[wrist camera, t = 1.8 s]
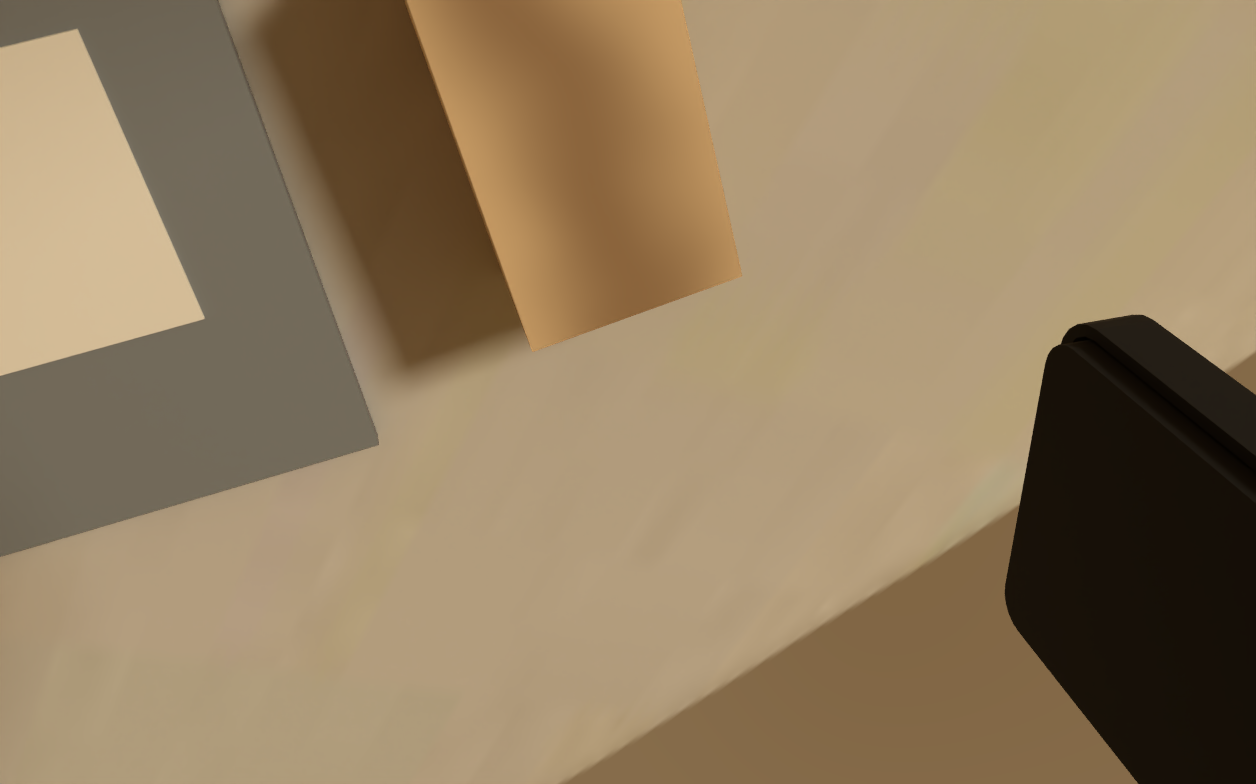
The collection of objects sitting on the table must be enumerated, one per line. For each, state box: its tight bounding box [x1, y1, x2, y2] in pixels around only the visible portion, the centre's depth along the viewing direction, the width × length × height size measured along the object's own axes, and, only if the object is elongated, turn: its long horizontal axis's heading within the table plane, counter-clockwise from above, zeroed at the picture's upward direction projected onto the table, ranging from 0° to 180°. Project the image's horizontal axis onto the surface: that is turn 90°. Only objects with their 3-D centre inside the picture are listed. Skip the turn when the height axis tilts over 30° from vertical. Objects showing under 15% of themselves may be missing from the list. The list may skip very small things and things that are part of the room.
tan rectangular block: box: [404, 0, 742, 352], centre depth 28 cm, size 6×10×4 cm, turn 14°
